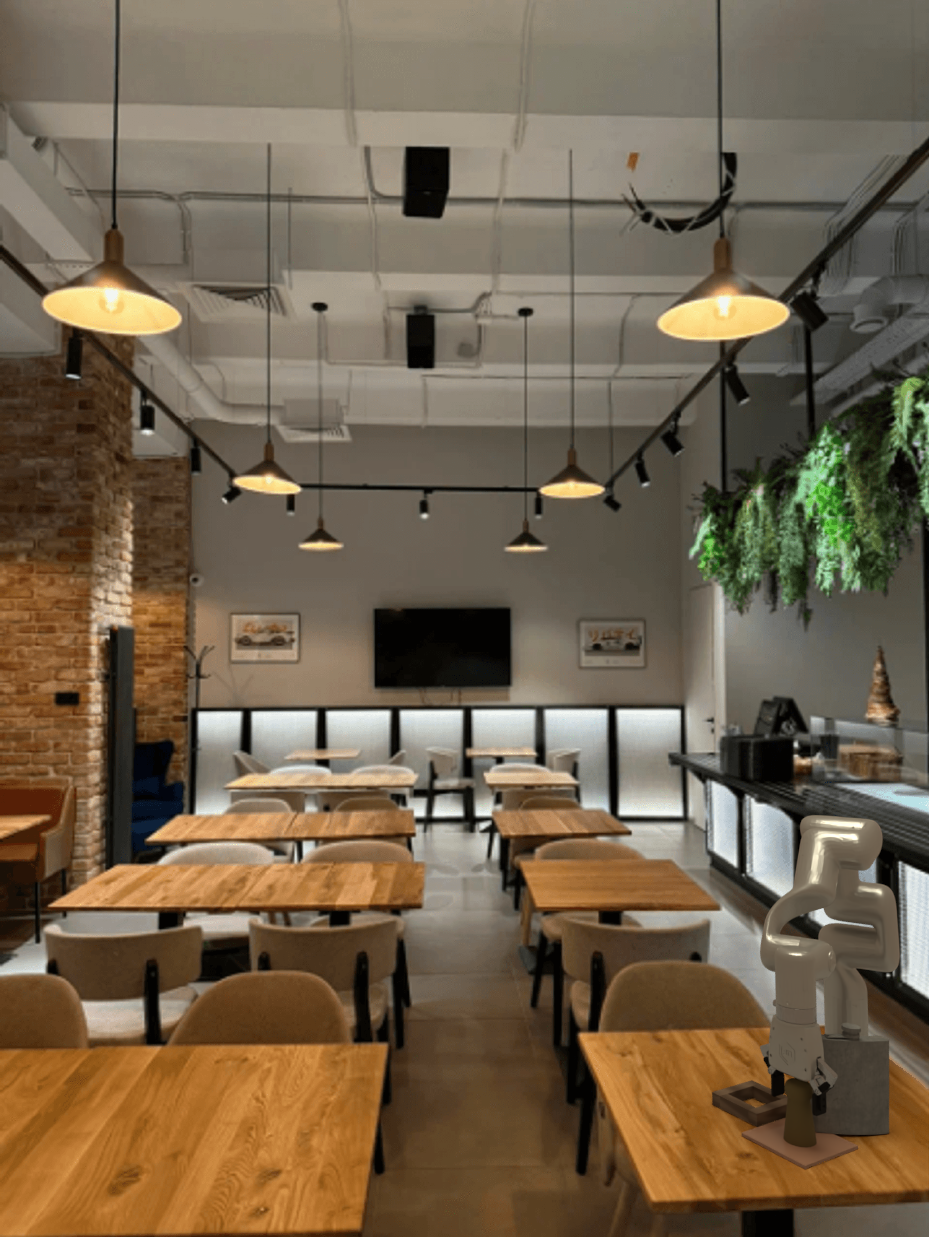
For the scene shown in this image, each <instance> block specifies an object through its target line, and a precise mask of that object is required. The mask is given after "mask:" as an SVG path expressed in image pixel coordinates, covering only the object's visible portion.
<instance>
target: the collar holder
mask: <svg viewBox="0 0 929 1237" xmlns="http://www.w3.org/2000/svg"><path fill="white" fill-rule="evenodd" d="M751 1099H752V1100H753V1099H754V1100H756V1101H759V1102H760V1103H762V1104H763V1105H758V1106H754V1105H752V1104H749V1103H748V1102H746V1101H748V1100H751ZM787 1100H788V1097H787V1095H786V1094H782V1095H779V1096H776V1097H773V1096H772V1095H771V1087H768V1086H766V1085H763V1084H761V1083H759V1082H757V1081H755V1080H753V1079H752V1080H748V1081H744V1082H740V1083H738V1084H734V1085H732V1086H728V1087H725V1088H721V1089H718V1090H715V1091H711V1101H712V1102H711V1103H712V1104H711V1105H713V1106H714V1107H716V1108H718V1109H720V1110H722V1111H725V1112H727V1113H728V1114H730V1115H732V1116H733V1117H737V1118H738V1119H741V1120H742V1121H744V1122H746V1123H748V1124H751V1125H752V1126H754V1127H755V1128H757V1127H760V1126H763V1125H766V1124H769V1123H771V1122H774V1121H777V1120H780V1119H783V1118H786V1109H787Z"/></svg>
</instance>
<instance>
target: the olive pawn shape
mask: <svg viewBox="0 0 929 1237" xmlns="http://www.w3.org/2000/svg"><path fill="white" fill-rule="evenodd" d="M784 1089H785V1093H784V1095H786V1096H787V1097H788V1100H787V1109H786V1118H785V1127H784V1137H783V1138H784V1140H785V1141H786V1142H787V1143H789V1144H791V1145H794V1146H798V1147H812V1146H815V1145H816V1143H817V1141H816V1134H815V1128H814V1122H813V1115H812V1109H811V1102H810V1100H811V1098H812V1094H813V1088H812V1086H811V1084H810V1083H809V1082H804V1081H801V1080H799V1079H796V1078H794V1077H791V1078H789V1079H786V1081H785V1087H784Z"/></svg>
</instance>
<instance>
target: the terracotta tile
mask: <svg viewBox="0 0 929 1237" xmlns="http://www.w3.org/2000/svg"><path fill="white" fill-rule="evenodd" d="M784 1127H785V1118H783V1119H780V1120H777V1121H774V1122H771V1123H768V1124H765V1125H762V1126H759V1127H754V1128H752V1129H751V1128H750V1129H748V1130H745V1131H743V1132H741V1137H743V1138H745V1139H747V1140H748V1141H750V1142H753V1143H755V1144H756V1145H758V1146H760V1147H762V1148H764V1149H766V1150H768V1151H770V1152H772V1153H774V1154H776V1155H777V1156H779V1157H781V1158H782V1159H785V1160H787V1161H789V1162H791V1163H793V1164H794V1165H796V1166H798V1167H800V1168H802V1169H804V1170H807V1168H808V1169H810V1168H812V1167H811V1166H813V1167H816V1166H818V1165H820V1164H823V1163H825V1162H824V1161H826V1162H828V1161H831V1160H833V1159H835V1157H836V1158H838V1157H837V1156H839V1157H841V1156H844V1155H847V1154H849V1153H852V1152H854V1151H856V1150H858V1149H859V1145H858V1144H855V1143H854V1142H851V1141H850V1140H847V1139H846V1138H843V1137H841V1136H839V1135H838V1134H830V1133H820V1132H815V1134H816V1141H817V1143H816V1145H815V1146H812V1147H798V1146H794V1145H791V1144H789V1143H787V1142H786V1141H785V1140H784V1138H783V1137H784ZM830 1159H831V1160H830ZM827 1160H828V1161H827ZM822 1162H823V1163H822ZM819 1163H820V1164H819ZM817 1164H818V1165H817ZM809 1167H810V1168H809Z"/></svg>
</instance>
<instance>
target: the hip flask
mask: <svg viewBox="0 0 929 1237" xmlns="http://www.w3.org/2000/svg"><path fill="white" fill-rule="evenodd" d="M841 1029H842V1030H844V1031H842V1034H825V1033H824V1034H822V1033H821V1035H822V1041H823V1049H824V1062H825V1063H826V1064H827V1065H828V1066H829V1067H830V1068H831V1069H832V1070H833V1071H834V1072H835V1073H836V1074H837V1076H838V1077H837V1080H836V1082H835V1084H834V1087H833V1088H832V1089H830V1090H829V1092H827V1093H826V1105H827V1108H826V1113H824V1114H822V1115H819V1116H815V1115H813V1113H812V1115H813V1122H814V1128H815V1132H820V1133H830V1134H835V1135H847V1136H848V1135H849V1136H850V1135H854V1136H860V1135H861V1136H865V1135H866V1136H871V1135H872V1136H873V1135H887V1134H889V1133H890V1039H889V1037H885V1036H882V1035H869V1036H860V1034H859V1033H860V1032H861V1027H860V1026H858V1025H855V1024H850V1023H843V1024H842V1025H841ZM823 1078H824V1080H825V1081H826V1076H825V1074H824V1076H823ZM816 1082H817V1084H818V1085H819V1086H820V1084H819V1082H818V1081H817V1080H816ZM809 1083H810V1082H809ZM813 1093H815V1092H814V1090H813ZM810 1102H811V1109H812V1098H811V1100H810Z"/></svg>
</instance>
